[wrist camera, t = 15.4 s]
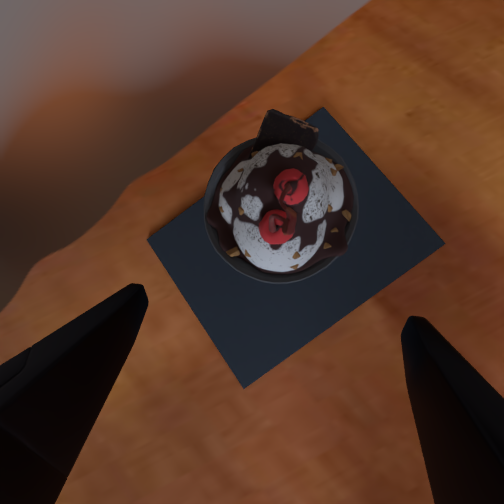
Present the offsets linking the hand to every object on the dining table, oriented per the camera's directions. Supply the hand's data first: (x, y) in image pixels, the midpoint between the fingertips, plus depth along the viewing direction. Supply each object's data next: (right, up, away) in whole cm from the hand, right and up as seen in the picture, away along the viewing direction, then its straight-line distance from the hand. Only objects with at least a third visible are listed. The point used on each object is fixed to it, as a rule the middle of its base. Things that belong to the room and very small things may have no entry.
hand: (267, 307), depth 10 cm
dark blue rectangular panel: (+2, +3, +13) cm, 13 cm away
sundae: (+2, +2, +13) cm, 13 cm away
